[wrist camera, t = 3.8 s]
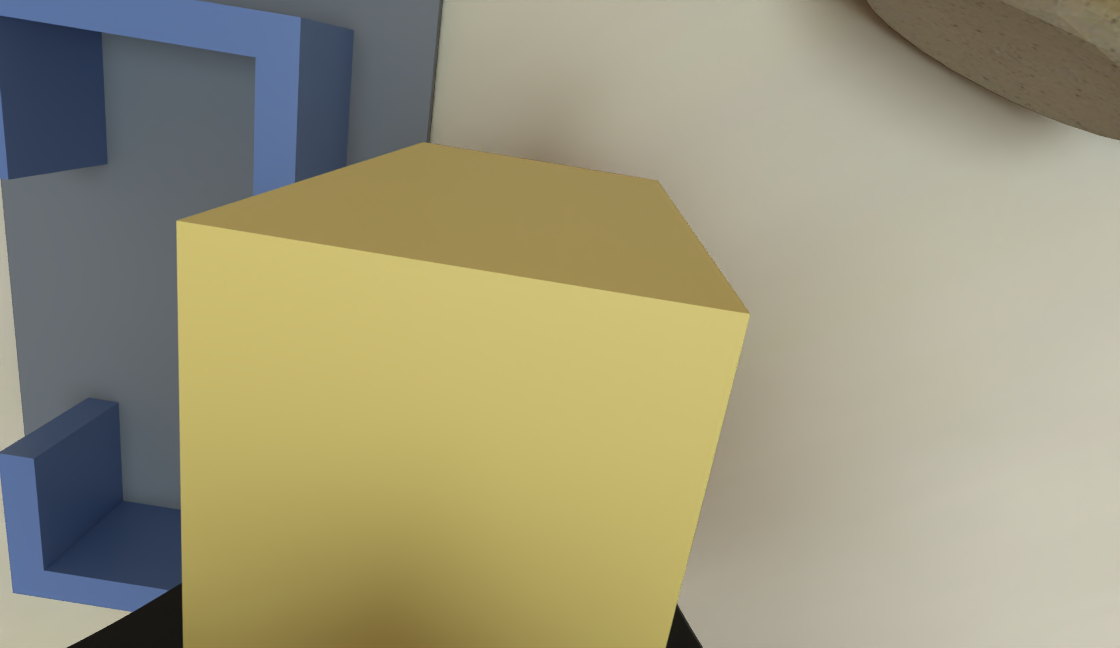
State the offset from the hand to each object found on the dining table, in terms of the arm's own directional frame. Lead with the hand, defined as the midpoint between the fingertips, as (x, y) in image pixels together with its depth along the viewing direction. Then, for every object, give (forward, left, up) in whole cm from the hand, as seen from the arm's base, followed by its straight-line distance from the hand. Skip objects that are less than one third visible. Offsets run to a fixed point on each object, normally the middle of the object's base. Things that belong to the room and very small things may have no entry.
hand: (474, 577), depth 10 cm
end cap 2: (-5, +8, -8) cm, 13 cm away
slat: (0, 0, -2) cm, 2 cm away
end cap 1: (+5, +8, -8) cm, 13 cm away
